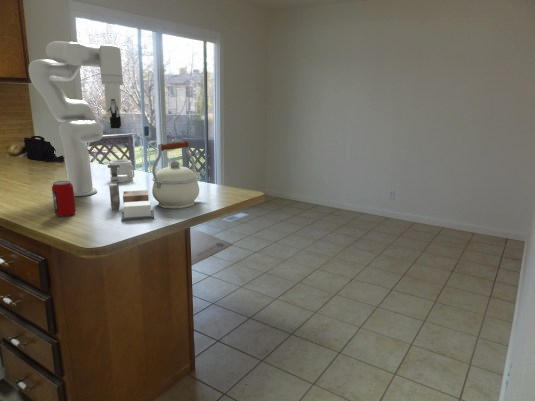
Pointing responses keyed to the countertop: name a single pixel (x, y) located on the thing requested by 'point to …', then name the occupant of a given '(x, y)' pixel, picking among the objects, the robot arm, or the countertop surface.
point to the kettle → (175, 181)
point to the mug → (124, 169)
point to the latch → (114, 173)
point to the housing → (125, 195)
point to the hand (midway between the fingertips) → (116, 127)
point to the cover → (137, 209)
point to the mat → (138, 217)
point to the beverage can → (63, 198)
